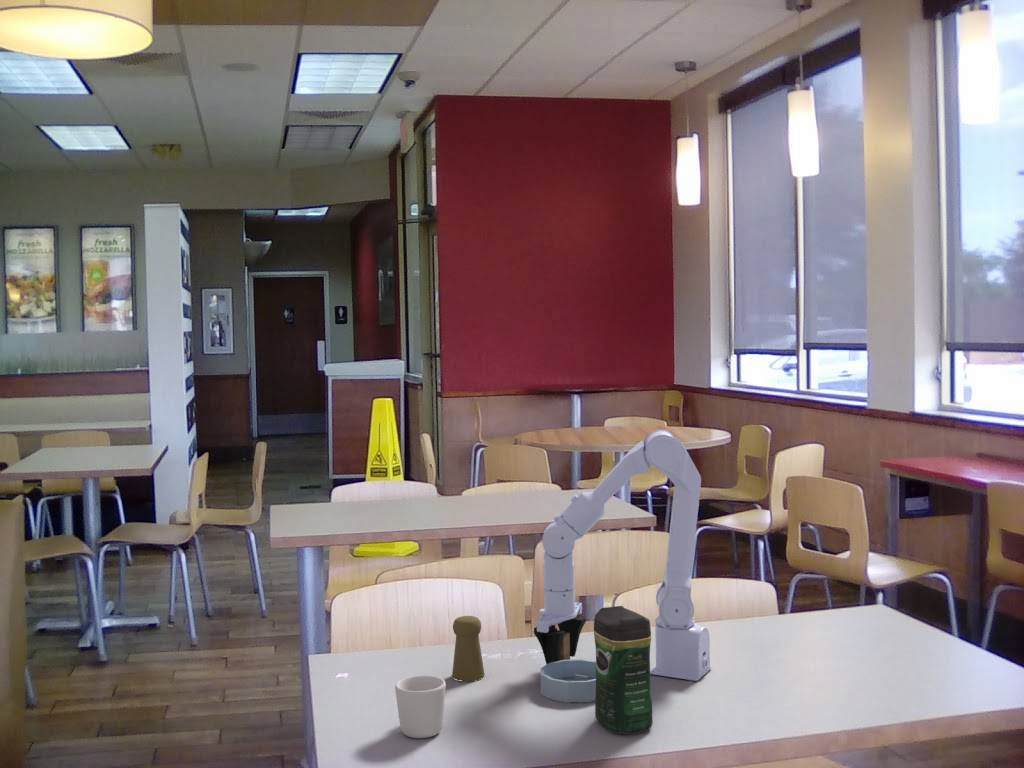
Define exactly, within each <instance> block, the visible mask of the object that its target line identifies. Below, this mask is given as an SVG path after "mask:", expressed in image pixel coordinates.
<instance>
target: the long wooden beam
mask: <svg viewBox="0 0 1024 768" xmlns="http://www.w3.org/2000/svg"><path fill="white" fill-rule="evenodd" d="M561 660H571V656H570V633H566V632H565V634H564V636H563V639H562V643H561V648H560V660H559V661H561Z"/></svg>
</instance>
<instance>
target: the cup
mask: <svg viewBox="0 0 1024 768" xmlns="http://www.w3.org/2000/svg"><path fill="white" fill-rule="evenodd" d="M446 687H447V683H446V681H445V679H443V678H441V677H439V676H435V675H429V674H428V675H426V674H425V675H413V676H408V677H405V678H402V679H400V680H398V681H397V682H396V683H395V686H394V690H395V697H396V707H397V710H398V712H397V713H398V719H399V726H400V729H401V732H402V733H403V734H404V735H405V736H407V737H410V738H413V739H426V738H431V737H434V736H436V735H437V734H439V733H440V732H441V730H442V728H443V724H444V713H445V703H446V702H445V701H446Z"/></svg>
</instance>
